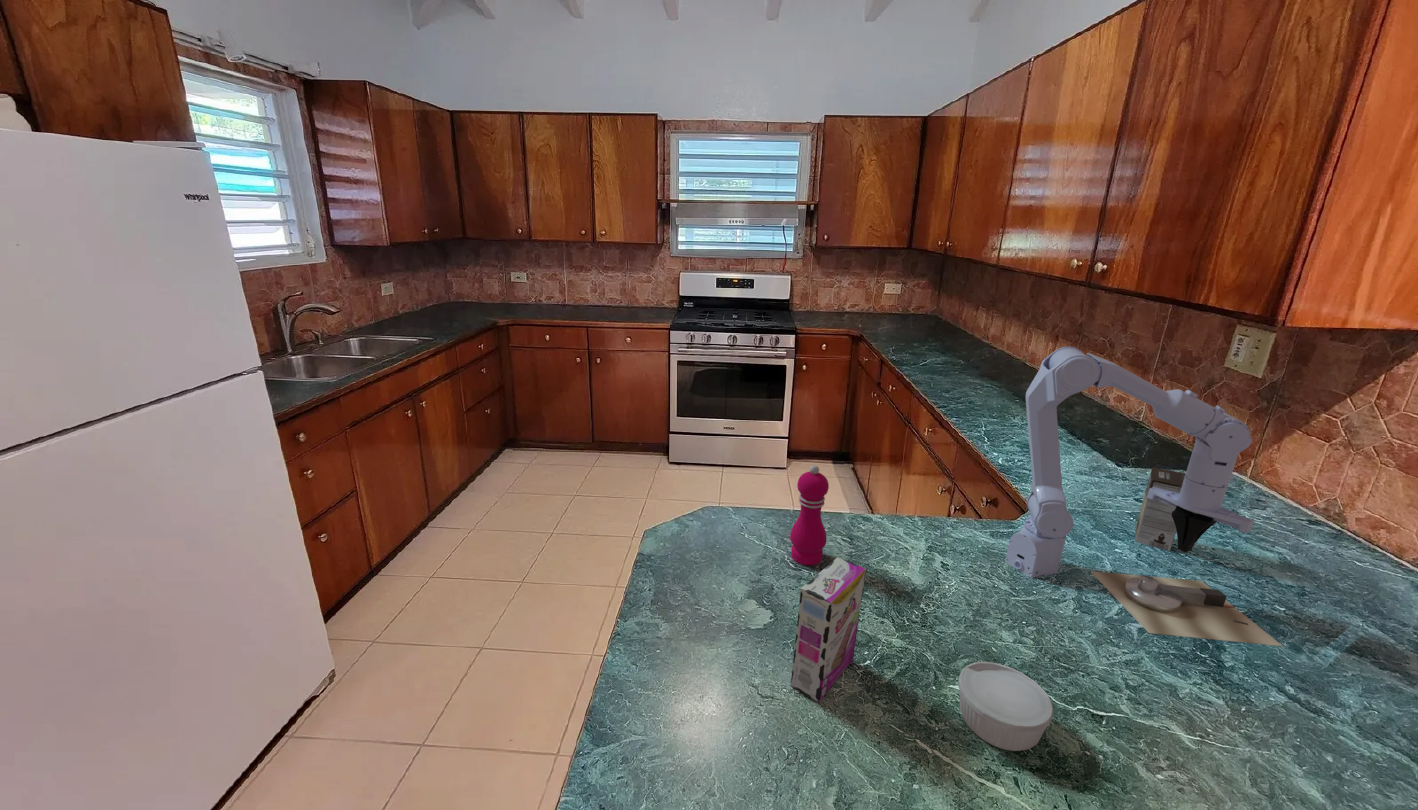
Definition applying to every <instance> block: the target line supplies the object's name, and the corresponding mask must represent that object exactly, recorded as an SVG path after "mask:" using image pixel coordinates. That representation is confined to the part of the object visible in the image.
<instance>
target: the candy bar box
mask: <svg viewBox="0 0 1418 810" xmlns="http://www.w3.org/2000/svg"><path fill="white" fill-rule="evenodd" d="M866 573H867V568H865V567H863V566H860V565H857V564H855V563H853V562H850V561H848V560H845V559H843V558H841V557H838V556H837V557H836V558H835V559H834V560H832V562H830V563H829V564H828V565H826V567H824V568H823V569H822V570H821V571H820V572H819V573H817V574H816V575H815V576H814V577H812V578H811V579H810V580H808V582H806V583H805V584H804V585H803V586H801V588H800V592H799V593H800V596H799V603H798V611H797V614H798V615H797V623H796V631H795V640H794V641H795V642H794V652H793V659H792V660H793V661H792V668H791V679H790V687H792V688H793V689H795V690H796V691H798V692H800V693H802V694H804V695H805V696H806V697H808V698H809V699H811V700H813V701H815V702H817V703H820V701H822V699H823V698H824V696H825V695H827V693H828V692H829V691H830V689H832V687H833V686H834V684H835V683H836V681H837V680H839V678H840V677H841V676H842V674H844V672H845V671H846V669H847V668H848V667H849V666H850V665H851V663H852V662H853V661H854V656H855V648H856V642H857V635H858V628H859V627H858V626H859V620H860V615H861V609H862V607H861V606H862V600H863V592H864V589H865V588H864V587H865V586H864V585H865V579H866Z"/></svg>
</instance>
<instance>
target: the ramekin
mask: <svg viewBox="0 0 1418 810" xmlns="http://www.w3.org/2000/svg"><path fill="white" fill-rule="evenodd" d="M960 671H961V672H960V673H959V677H958V688H959V711H960V713H961V717H962V719H963V721H964V722H965V723H966V725H967V726H968V728H969V729H970V730H971V731H972V732H973V733H974V734H975V735H976V736H978V737H979V738H980V739H982V740H983V741H984V742H986V743H987V744H988V745H989V744H990V745H991V746H994V747H996V748H999V749H1001V750H1005V751H1011V752H1020V751H1027V750H1029V749H1031V748H1034V747H1035V746H1036V745H1037V744H1038V743H1039V741H1040V740H1041V738H1042V737H1043V734H1044V732H1045V731H1046V728H1047V727H1048V726H1049V725H1050V724H1051V722H1052V720H1053V715H1054V707H1053V702H1052V700H1051V698H1050V696H1049V695H1048V693H1047V692H1046V691H1045V690H1044V689H1043V688H1042V687H1041V686H1040V685H1039V684H1038V683H1037V682H1036V681H1035V680H1033V678H1031V677H1030V676H1028V675H1026V674H1024V673H1022V672H1021V671H1018V670H1017V669H1015V668H1013V667H1010V666H1007V665H1004V664H1000V663H996V662H991V661H990V662H989V661H977V662H972V663H970V664H967V665H966V666H964V667H963V669H962V670H960Z"/></svg>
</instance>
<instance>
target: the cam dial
mask: <svg viewBox="0 0 1418 810" xmlns="http://www.w3.org/2000/svg"><path fill="white" fill-rule="evenodd" d="M1139 576H1140V578H1130V579H1128V580H1127V581H1126V585H1125V588H1124V591H1125V593H1126V595H1127V596H1128V597H1129V598H1130V599H1132V600H1133V601H1135V602H1136V603H1138V604H1140V605H1142V606H1145V607H1147V608H1150V609H1153V610H1157V611H1161V612H1176V611H1178V610H1179V609H1180V606H1181V603H1182V602H1189V603H1197V604H1203V605H1208V606H1217V607H1223V606H1224V603H1225V600H1226V601H1227V597H1228V596H1227V595H1226V594H1225V593H1223V592H1222V591H1221V590H1220V589H1215V588H1214V589H1213V588H1211V589H1205V588H1200V589H1198V588H1189V587H1180V586H1171V585H1164V584H1162V583H1159V582H1158V581H1157V580H1156V579H1155V578H1153V577H1154V576H1151V575H1145V574H1144V575H1143V574H1142V575H1139ZM1150 576H1151V577H1150Z"/></svg>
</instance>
